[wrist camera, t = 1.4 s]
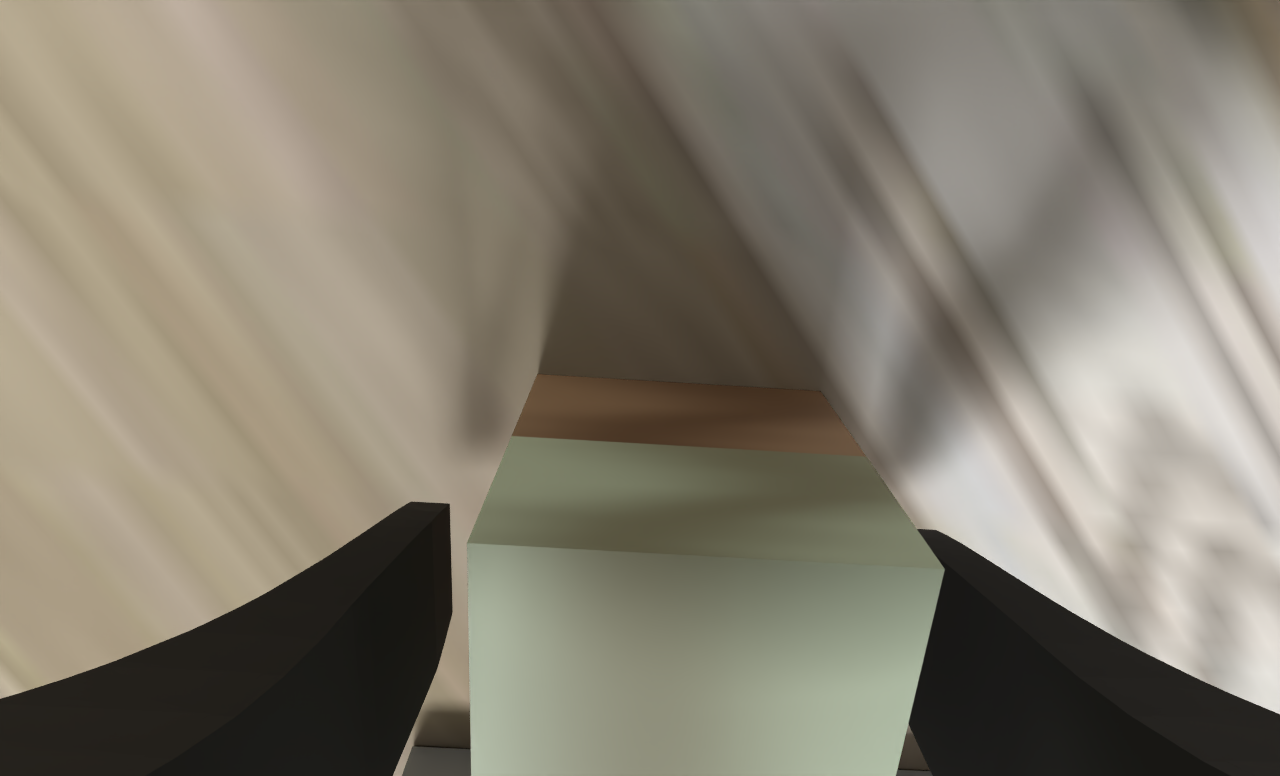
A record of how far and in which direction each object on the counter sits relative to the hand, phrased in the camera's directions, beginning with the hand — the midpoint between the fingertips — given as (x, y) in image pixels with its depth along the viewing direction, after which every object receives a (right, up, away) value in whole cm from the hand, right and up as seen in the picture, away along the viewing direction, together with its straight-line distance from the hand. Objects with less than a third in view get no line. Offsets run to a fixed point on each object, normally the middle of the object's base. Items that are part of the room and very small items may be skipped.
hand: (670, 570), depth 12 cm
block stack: (0, +1, +2) cm, 2 cm away
